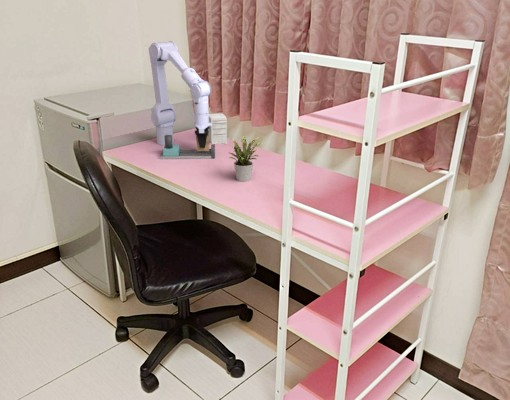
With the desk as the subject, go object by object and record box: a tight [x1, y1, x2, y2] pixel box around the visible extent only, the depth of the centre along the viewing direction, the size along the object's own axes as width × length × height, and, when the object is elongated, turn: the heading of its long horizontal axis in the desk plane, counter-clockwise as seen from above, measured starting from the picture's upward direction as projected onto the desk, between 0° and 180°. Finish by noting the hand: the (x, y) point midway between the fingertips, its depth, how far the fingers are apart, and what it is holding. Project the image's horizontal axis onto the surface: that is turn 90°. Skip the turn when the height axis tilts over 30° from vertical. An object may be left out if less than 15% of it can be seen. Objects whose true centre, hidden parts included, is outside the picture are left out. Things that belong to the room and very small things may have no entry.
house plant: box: [227, 135, 264, 182], centre depth 183 cm, size 14×14×16 cm
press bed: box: [159, 143, 216, 160], centre depth 206 cm, size 10×22×4 cm, turn 94°
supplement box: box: [208, 112, 228, 146], centre depth 223 cm, size 7×7×13 cm
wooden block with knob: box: [195, 133, 210, 151], centre depth 205 cm, size 5×5×6 cm
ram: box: [162, 135, 181, 156], centre depth 205 cm, size 8×6×8 cm
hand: (202, 145), depth 205 cm, fingers closed on wooden block with knob, 5 cm apart
